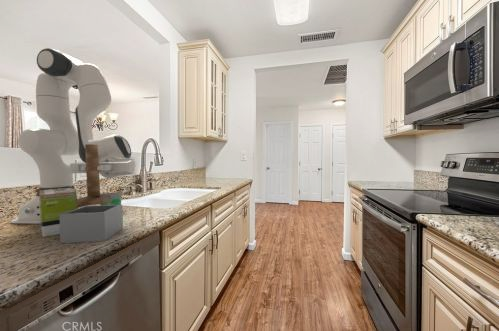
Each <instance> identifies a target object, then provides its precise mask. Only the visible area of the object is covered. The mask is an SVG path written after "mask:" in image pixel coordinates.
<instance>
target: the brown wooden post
mask: <svg viewBox="0 0 499 331" xmlns="http://www.w3.org/2000/svg"><path fill="white" fill-rule="evenodd" d="M85 153H86V173H85V174H86V192H87V193H86V194H87V196H83V197H80V198H77V206H93V205H100V204H105V203H107V202H110V196H100V194H101V184H100V183H101V182H100V173H99V171H97V166H98V165H99V154H98V145H95V144H86V145H85Z"/></svg>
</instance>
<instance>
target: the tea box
mask: <svg viewBox="0 0 499 331" xmlns="http://www.w3.org/2000/svg"><path fill="white" fill-rule="evenodd" d="M77 194H78V193H77V191H76V190H75V191H74V190H73V189H72V188H59V189H48V190H40V191H39V198H40V217H41V224H40V226H41V227H40V228H41V236H42V237H43V238H45V237H50V236H55V235H56V236H57V235H60V216H59V214H62V213H65V212H68V211H71V210H74V209H77V208H78V205H77V199H78V197H77Z"/></svg>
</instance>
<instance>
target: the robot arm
mask: <svg viewBox="0 0 499 331" xmlns="http://www.w3.org/2000/svg"><path fill="white" fill-rule="evenodd" d="M36 64H37V67H38V68H39V69H40V71H42V72H43V73H40V74H39V75H38V76H37V79H36V85H35V102H36V114H37V116H38V118H40V119H41V121H43V122H44V123H46V125H47V126H48V128H49V129H47V128H30V129H29V128H27V129H24V130H23V131H22V132H20V133H19V135H18V138H17V143H18V147H19V149H21V150H22V151H23V152H25V154H27V155H29V157H31V159H33V161H34V162H35V164H36V166H37V168H38V172H39V182H40V184H39V185H40V187H38V188H37V189H33V193H36V194H35V197H33V198H32V199H30V200H29V201H27V202H25V203H24V204H23V205H21V206H20V208H19V210H18V216H17V217H16V218H13V219H11V220H10V224H34V225H35V224H37V225H38V224H40V225H41V217H40V198H39V191H40V190H48V189H59V188H72V189H73V190H74V191H76V190H75V185H74V175H73V174H86V153H85V145H86V144H95V145H98V154H99V165H98V166H97V171H99V175H101V176H102V177H104V178H106V179H113V178H118V177H124V176H129V175H130V176H131V175H134V174H135V168H136V162H135V160H134V158H132V148H131V146H130V145H131V144H129V141H128V140H127V139H126V138H125V137H123V136H122V135H120V134H118V133H117V134H116V133H115V134H111V135H108V136H104V137H102V138H99V139H95V140H94V133H93V132H94V131H93V121H94V120H95V119H96V117H97V116H99V115H100V114H101V113H103V112H105V111H106V110H107V109H108V108H109V107H110V105H111V103H112V96H111V95H112V94H111V91H110V88H109V85H108V82H107V80H106V79H105V77H104V75H103V73H102V71H101V69H100V68H99V67H98V66H97V65H95V64H92V63H88V62H87V63H83V61H81V60H79V59H77V58H75V57H73V56H70V55H68V54H65V53H63V52H62V51H61V50H57V49H55V48H54V49H53V48H48V47H47V48H46V47H45V48H43V49H41V50H40V51H39V52H38V54H37V56H36ZM71 88H72V89H74V90H78V93H79V100H78V105H77V106H76V107H75V112H74V114H75V121H76V122H75V123H76V127H75V125H74V123H73V119H72V117H71V108H70V106H71V105H70V97H69V96H70V94H69V91H70V89H71ZM74 155H78V156H79V159H80V160H81V161H82V162H72V163H70V164H69V165H68V164H66V163H65V161H64V160H63V158H62V156H74Z"/></svg>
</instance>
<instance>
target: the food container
mask: <svg viewBox="0 0 499 331" xmlns="http://www.w3.org/2000/svg"><path fill="white" fill-rule="evenodd" d="M123 195H124V194H123V190H117V191H116V192H107V193H100V196H110V202H107V203H105V204H99V205H122V196H123Z"/></svg>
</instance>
